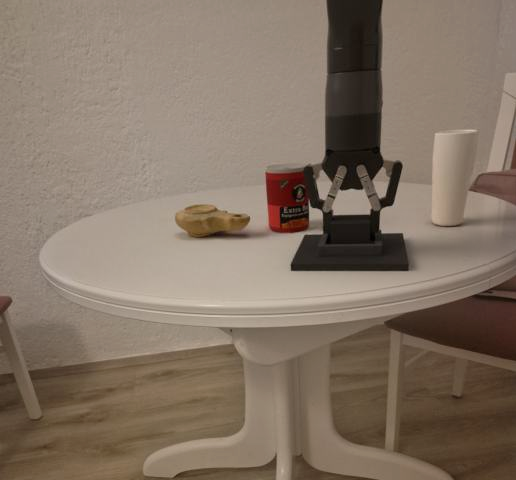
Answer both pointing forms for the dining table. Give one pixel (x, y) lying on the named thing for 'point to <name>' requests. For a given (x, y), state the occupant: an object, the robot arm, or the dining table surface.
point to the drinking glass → (452, 174)
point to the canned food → (287, 197)
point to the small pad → (350, 229)
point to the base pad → (352, 254)
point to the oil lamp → (209, 220)
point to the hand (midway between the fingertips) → (351, 235)
